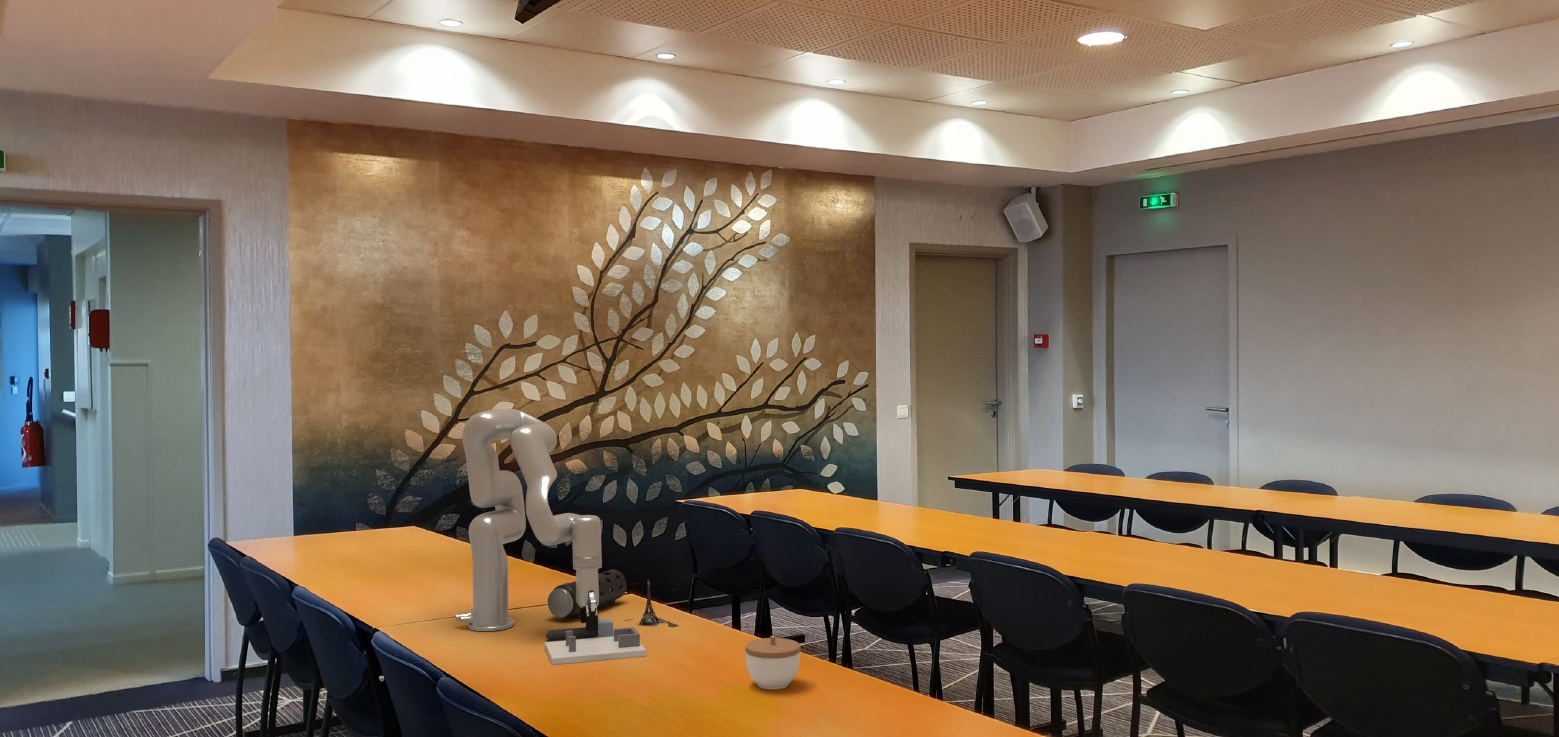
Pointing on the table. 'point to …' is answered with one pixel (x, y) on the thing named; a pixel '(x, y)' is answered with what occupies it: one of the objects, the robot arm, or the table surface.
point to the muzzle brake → (565, 594)
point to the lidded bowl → (772, 661)
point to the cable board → (596, 647)
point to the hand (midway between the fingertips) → (589, 626)
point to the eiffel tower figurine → (651, 614)
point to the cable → (583, 631)
